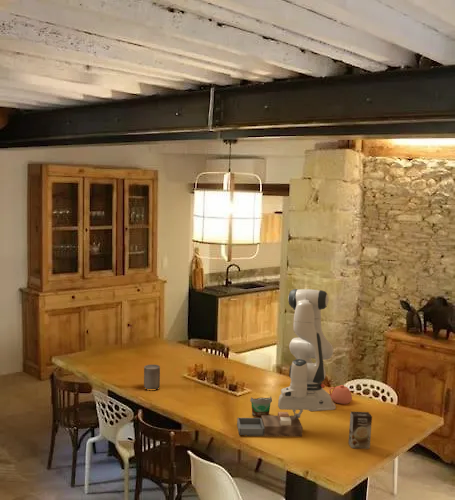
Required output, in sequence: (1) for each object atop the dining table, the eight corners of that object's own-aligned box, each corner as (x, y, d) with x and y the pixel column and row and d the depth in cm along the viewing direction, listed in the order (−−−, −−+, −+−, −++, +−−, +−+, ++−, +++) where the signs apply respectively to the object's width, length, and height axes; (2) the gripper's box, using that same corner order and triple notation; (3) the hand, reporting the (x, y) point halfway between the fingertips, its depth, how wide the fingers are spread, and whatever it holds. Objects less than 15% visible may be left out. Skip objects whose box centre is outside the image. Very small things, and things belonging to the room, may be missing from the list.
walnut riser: (296, 425, 313) (297, 415, 312) (302, 436, 298) (302, 426, 297) (260, 424, 312) (261, 415, 311) (264, 436, 297) (264, 426, 296)
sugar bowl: (351, 406, 344) (352, 389, 343) (327, 404, 347) (328, 387, 346) (351, 399, 356) (352, 383, 355) (328, 397, 359) (328, 380, 358)
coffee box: (351, 448, 285) (353, 416, 284) (348, 443, 291) (349, 411, 290) (370, 448, 285) (372, 416, 284) (366, 443, 292) (368, 411, 290)
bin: (260, 424, 312) (261, 417, 311) (264, 436, 297) (264, 429, 296) (237, 424, 311) (237, 417, 310) (239, 435, 296) (239, 428, 296)
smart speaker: (161, 386, 369) (161, 362, 368) (157, 391, 359) (158, 367, 358) (145, 385, 370) (146, 362, 369) (142, 390, 360) (142, 366, 359)
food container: (253, 419, 319) (253, 401, 318) (249, 415, 325) (250, 397, 324) (274, 417, 322) (275, 399, 321) (270, 413, 328) (271, 395, 327)
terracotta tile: (287, 416, 310) (287, 412, 310) (288, 420, 305) (289, 415, 305) (277, 416, 310) (278, 411, 310) (279, 420, 305) (279, 415, 305)
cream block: (289, 421, 303) (289, 416, 303) (291, 425, 298) (291, 420, 298) (279, 421, 303) (279, 416, 303) (281, 425, 298) (281, 420, 298)
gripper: (317, 389, 311) (315, 415, 312) (278, 389, 309) (277, 415, 311) (319, 393, 304) (318, 419, 306) (279, 393, 303) (278, 419, 304)
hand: (297, 417), depth 308 cm, fingers closed
